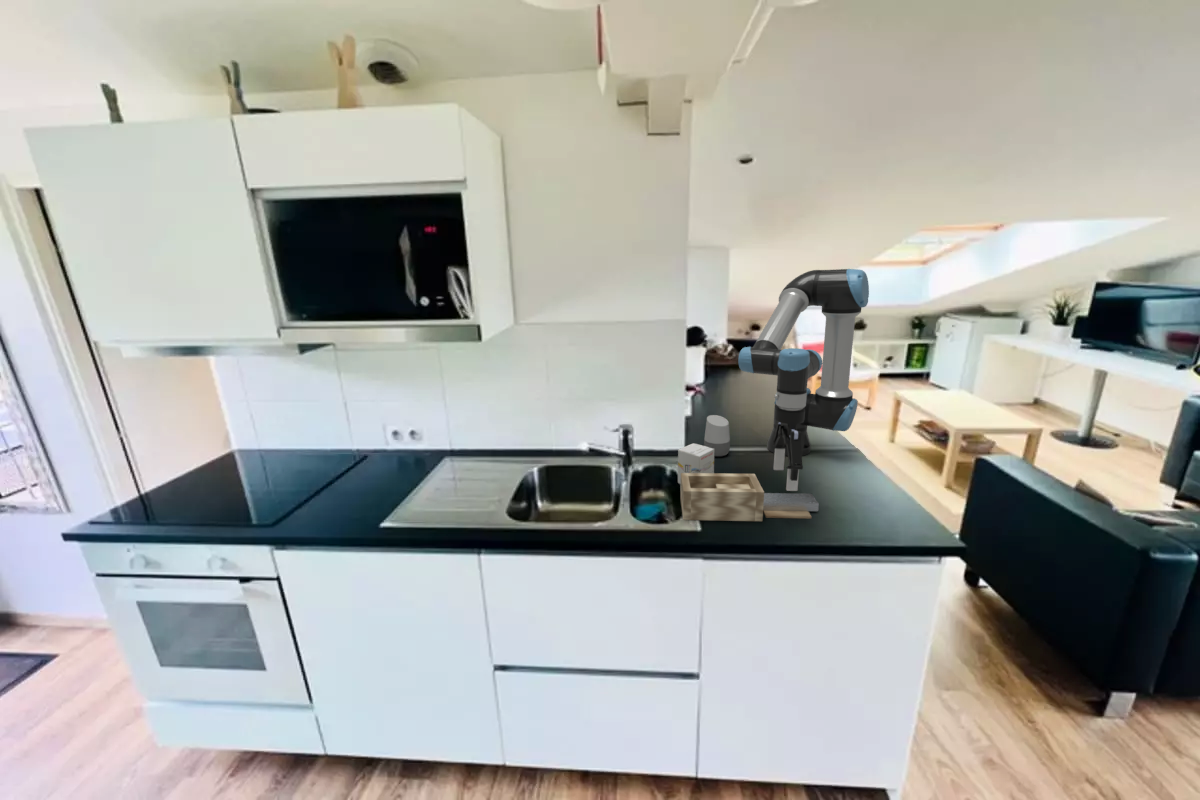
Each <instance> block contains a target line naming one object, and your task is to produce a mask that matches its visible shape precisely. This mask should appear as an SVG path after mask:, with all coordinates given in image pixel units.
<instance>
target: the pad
mask: <svg viewBox="0 0 1200 800" xmlns="http://www.w3.org/2000/svg"><path fill="white" fill-rule="evenodd" d="M763 516H765V519H766V518H767V519H768V518H769V519H772V518H773V519H812V515H811V513H810V511H767V510H763Z"/></svg>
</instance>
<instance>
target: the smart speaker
mask: <svg viewBox="0 0 1200 800" xmlns="http://www.w3.org/2000/svg"><path fill="white" fill-rule="evenodd" d="M730 435H731V434H730V423H729V421H728V419H726V417H723V416H722V415H717V414H710V415H708V416H707V417H706V423H705V432H704V439H703V446H706V447H709V448H713V449H714V458H721V457H725V456H727V454H729V452H730V449H731V436H730Z"/></svg>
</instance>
